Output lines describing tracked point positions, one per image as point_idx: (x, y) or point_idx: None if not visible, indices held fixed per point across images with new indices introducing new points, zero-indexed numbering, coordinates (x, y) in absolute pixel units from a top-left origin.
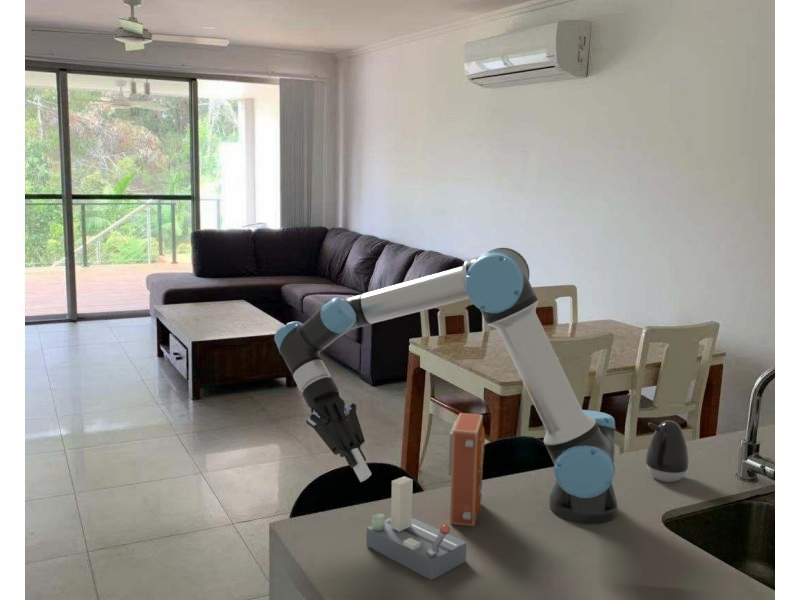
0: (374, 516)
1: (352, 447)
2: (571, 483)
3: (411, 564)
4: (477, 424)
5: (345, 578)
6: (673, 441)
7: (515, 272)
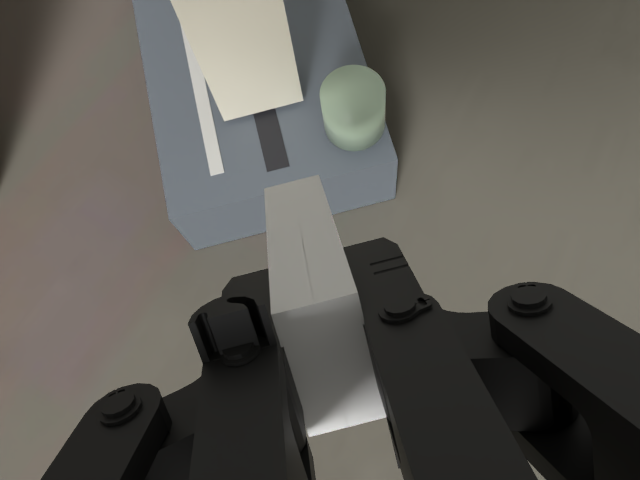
0: (371, 99)
1: (295, 415)
2: None
3: None
4: None
5: (569, 37)
6: None
7: None
